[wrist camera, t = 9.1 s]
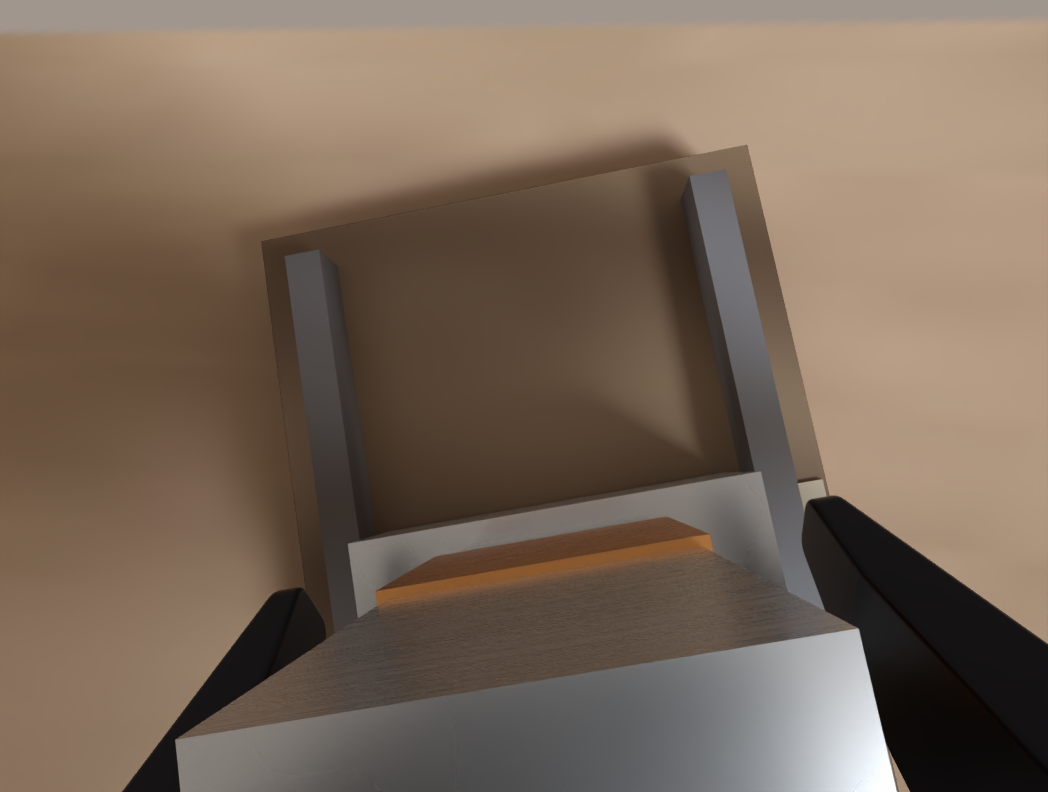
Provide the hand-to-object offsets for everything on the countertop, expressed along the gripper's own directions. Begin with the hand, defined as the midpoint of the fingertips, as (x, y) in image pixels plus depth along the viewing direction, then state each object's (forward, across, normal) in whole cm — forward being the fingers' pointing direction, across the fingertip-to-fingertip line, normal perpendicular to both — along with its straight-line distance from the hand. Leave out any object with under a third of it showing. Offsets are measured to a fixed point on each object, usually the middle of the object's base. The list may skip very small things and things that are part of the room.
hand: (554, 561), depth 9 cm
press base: (+5, 0, +6) cm, 8 cm away
